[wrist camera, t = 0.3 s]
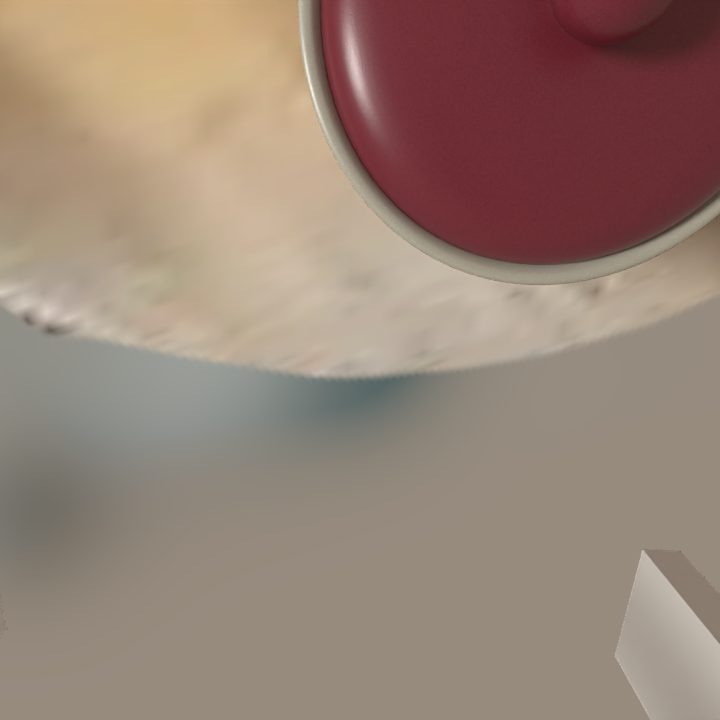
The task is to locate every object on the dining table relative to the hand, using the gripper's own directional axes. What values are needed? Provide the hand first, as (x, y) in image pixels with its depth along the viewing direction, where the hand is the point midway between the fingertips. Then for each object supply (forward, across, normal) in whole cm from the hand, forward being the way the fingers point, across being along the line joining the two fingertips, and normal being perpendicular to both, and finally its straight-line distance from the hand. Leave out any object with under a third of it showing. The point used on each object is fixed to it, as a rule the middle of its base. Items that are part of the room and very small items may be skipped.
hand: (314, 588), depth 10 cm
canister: (+28, +7, +14) cm, 32 cm away
